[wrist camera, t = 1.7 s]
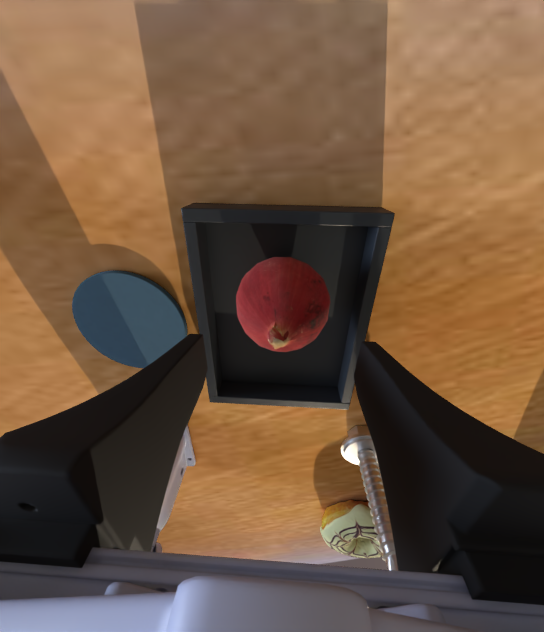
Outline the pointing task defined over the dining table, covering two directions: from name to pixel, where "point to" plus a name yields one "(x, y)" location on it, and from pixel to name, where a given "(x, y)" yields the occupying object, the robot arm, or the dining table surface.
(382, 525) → the screw
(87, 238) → the dining table surface
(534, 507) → the robot arm
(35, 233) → the dining table surface
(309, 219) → the tray
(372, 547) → the decorated donut
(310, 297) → the onion
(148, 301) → the mat
